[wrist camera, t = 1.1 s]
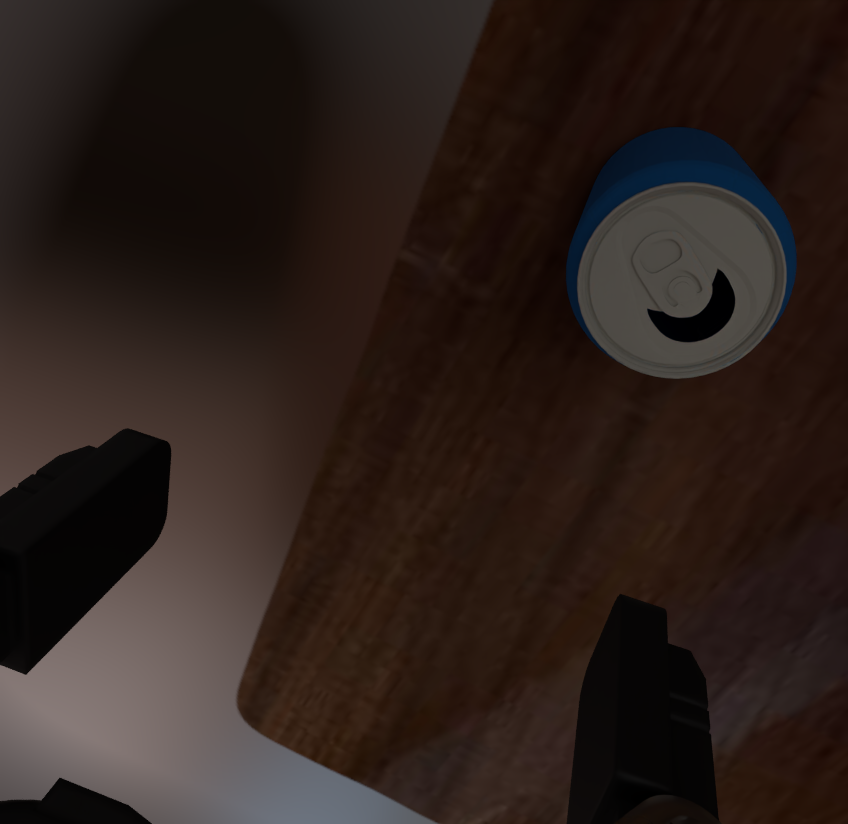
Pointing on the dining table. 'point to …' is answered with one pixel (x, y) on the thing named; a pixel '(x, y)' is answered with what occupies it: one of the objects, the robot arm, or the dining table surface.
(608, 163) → the beverage can
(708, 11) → the dining table surface
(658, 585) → the dining table surface
